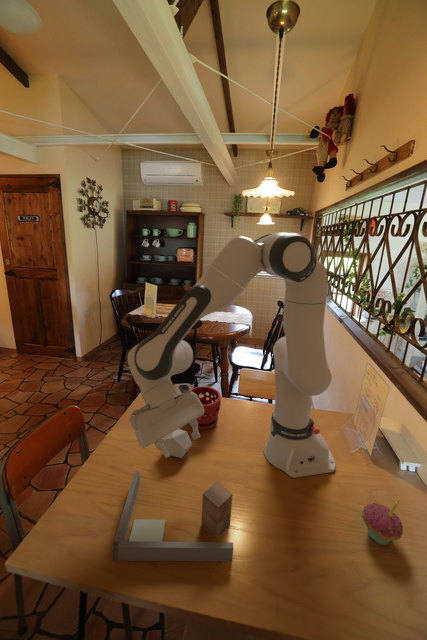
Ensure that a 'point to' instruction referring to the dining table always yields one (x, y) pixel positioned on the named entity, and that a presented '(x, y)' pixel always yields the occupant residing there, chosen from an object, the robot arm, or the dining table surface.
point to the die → (178, 442)
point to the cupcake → (382, 523)
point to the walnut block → (216, 509)
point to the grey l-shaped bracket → (160, 540)
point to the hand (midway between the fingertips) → (184, 446)
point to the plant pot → (208, 406)
